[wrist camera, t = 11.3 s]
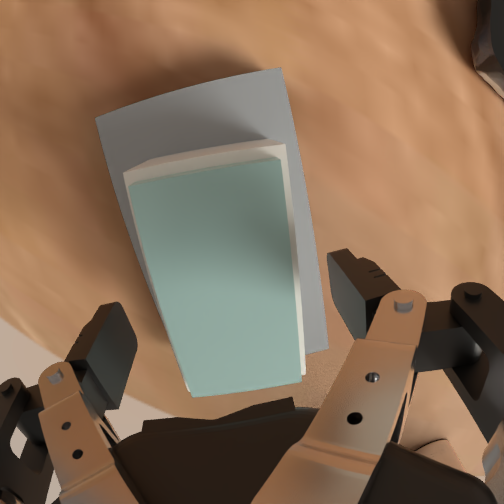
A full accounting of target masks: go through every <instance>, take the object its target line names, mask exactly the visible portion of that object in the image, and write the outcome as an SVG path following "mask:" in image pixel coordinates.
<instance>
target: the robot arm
mask: <svg viewBox="0 0 504 504" xmlns="http://www.w3.org/2000/svg"><path fill="white" fill-rule="evenodd" d="M327 263H328V271H329V278H330V286H331V293H332V298H333V301H334V304H335V306H336V308H337V310H338V312H339V313H340V315H341V317H342V319H343V320H344V322H345V324H346V326H347V327H348V329H349V331H350V333H351V334H352V336H353V338H354V340H355V342H354V344H353V346H352V348H351V350H350V352H349V354H348V356H347V358H346V360H345V362H344V364H343V366H342V368H341V370H340V372H339V374H338V376H337V378H336V380H335V382H334V383H333V385H332V387H331V389H330V391H329V393H328V395H327V396H326V398H325V400H324V402H323V404H322V405H321V407H320V409H317V408H308V407H295V406H294V402H293V398H292V397H289V398H284V399H280V400H276V401H271V402H266V403H262V404H257V405H253V406H250V407H248V408H245V409H243V410H240V411H237V412H235V413H232V414H229V415H227V416H224V417H221V418H219V419H215V420H206V419H192V418H180V417H174V418H165V419H156V420H144V422H143V427H142V432H139V433H136V434H133V435H131V436H129V437H127V438H125V439H124V440H122V441H121V440H120V438H119V436H118V435H117V433H116V431H115V430H114V428H113V426H112V425H111V423H110V421H109V420H108V418H107V417H106V416H105V414H104V413H105V410H114V409H119V406H120V403H121V400H122V396H123V393H124V389H125V386H126V383H127V380H128V376H129V373H130V370H131V367H132V364H133V361H134V357H135V354H136V351H137V338H136V335H135V333H134V331H133V328H132V326H131V324H130V322H129V320H128V318H127V316H126V313H125V311H124V309H123V307H122V305H121V304H120V303H119V302H113V303H109V304H104V305H100V306H99V308H98V310H97V311H96V313H95V315H94V316H93V318H92V320H91V321H90V322H89V323H88V324H86V325H85V326H84V327H83V329H82V331H81V333H80V334H79V337H78V338H77V339H76V341H75V344H74V345H73V346H72V348H71V350H70V352H69V354H68V355H67V357H66V359H65V361H64V362H58V363H55V364H53V365H51V366H49V367H48V368H47V369H45V370H44V371H43V373H42V374H41V375H40V377H39V380H38V384H37V385H34V386H31V387H28V388H26V387H25V385H24V384H23V382H22V381H21V380H20V379H19V378H11V379H8V380H7V381H5V382H3V383H2V384H1V385H0V504H45V501H46V498H47V493H48V489H49V485H50V482H51V478H52V474H53V470H55V473H56V475H57V478H58V481H59V484H60V486H61V492H60V494H59V497H58V498H57V499H56V500H55V501H54V502H53V503H52V504H504V301H503V300H502V299H501V298H500V297H499V296H497V295H496V294H495V293H494V292H493V291H492V290H491V289H489V288H488V287H487V286H485V285H483V284H479V283H475V282H466V283H461V284H459V285H457V286H455V287H454V288H453V290H452V292H451V300H447V301H439V302H427V301H426V299H425V297H424V296H423V295H422V294H420V293H418V292H416V291H412V290H401V289H400V288H399V287H398V286H397V285H396V284H395V283H394V282H393V281H392V280H391V278H390V277H389V276H388V275H386V273H385V272H384V271H383V270H382V269H380V267H379V266H378V265H377V264H376V263H375V262H373V261H371V260H368V259H366V258H359V259H357V258H356V257H355V256H354V255H353V254H352V253H351V252H350V251H349V250H348V249H347V248H346V249H342V250H338V251H334V252H330V253H327ZM440 369H443V371H444V372H445V374H446V375H447V377H448V378H449V380H450V381H451V383H452V384H453V386H454V388H455V389H456V391H457V392H458V394H459V396H460V397H461V399H462V400H463V402H464V404H465V405H466V407H467V409H468V410H469V412H470V414H471V415H472V417H473V419H474V420H475V422H476V424H477V425H478V427H479V429H480V431H481V432H482V434H483V436H484V438H485V439H486V441H487V443H488V445H487V447H486V448H485V450H484V453H483V457H482V463H483V467H484V471H485V483H484V482H483V481H481V480H480V479H478V478H477V477H475V476H473V475H471V474H469V473H467V472H466V470H465V469H464V467H463V465H462V463H461V461H460V459H459V458H458V456H457V454H456V453H455V451H454V449H453V447H452V446H451V444H450V442H449V441H448V440H439V441H436V442H433V443H430V444H428V445H426V446H424V447H422V448H420V449H418V450H417V451H413V450H410V449H408V448H406V447H404V446H402V445H399V443H400V440H401V437H402V433H403V430H404V426H405V422H406V418H407V415H408V412H409V408H410V405H411V401H412V398H413V394H414V390H415V387H416V383H417V379H418V375H419V372H424V371H432V370H440ZM16 426H17V427H18V429H19V430H20V431H21V432H22V433H23V434H24V435H25V436H26V437H27V441H26V444H25V446H24V449H23V452H22V454H21V457H20V459H19V458H18V457H17V456H16V455H15V454H14V453H13V452H12V450H11V447H10V439H11V437H12V435H13V432H14V430H15V428H16Z"/></svg>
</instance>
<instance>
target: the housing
mask: <svg viewBox="0 0 504 504" xmlns="http://www.w3.org/2000/svg"><path fill="white" fill-rule="evenodd" d="M123 176H124V181H125V185H126V190H127V194H128V199H129V203H130V207H131V211H132V216H133V220H134V224H135V228H136V232H137V235H138V239H139V243H140V247H141V250H142V254H143V258H144V261H145V265H146V268H147V272H148V275H149V279H150V282H151V285H152V289H153V292H154V295H155V298H156V302H157V305H158V308H159V311H160V314H161V317H162V320H163V323H164V326H165V329H166V332H167V335H168V338H169V341H170V344H171V347H172V349H173V352H174V355H175V358H176V361H177V363H178V366H179V369H180V371H181V374H182V377H183V379H184V382H185V384H186V387H187V390H188V392H190V393H191V395H192V398H194V397H204V396H213V395H222V394H230V393H237V392H245V391H252V390H258V389H264V388H270V387H276V386H282V385H288V384H293V383H298V382H302V379H301V375H305V374H306V364H305V347H304V331H303V317H302V303H301V290H300V278H299V266H298V255H297V244H296V234H295V223H294V214H293V204H292V195H291V186H290V177H289V169H288V160H287V152H286V144H284V143H281V142H277V141H274V140H271V139H262V140H254V141H247V142H240V143H234V144H227V145H221V146H215V147H209V148H204V149H198V150H193V151H187V152H182V153H177V154H172V155H167V156H162V157H158V158H153V159H150V160H148V161H146V162H143V163H141V164H139V165H137V166H135V167H133V168H131V169H129V170H127V171H125V172H123Z"/></svg>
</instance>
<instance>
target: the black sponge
mask: <svg viewBox="0 0 504 504" xmlns="http://www.w3.org/2000/svg"><path fill="white" fill-rule="evenodd" d="M477 19H478V23H477V28H476V31H475V36H474V39H473V41H472V43H471V51H472V58H473V63H474V67H475V70H476V72H477V73H478V74H479V75H481V76H482V77H483V79H484V80H485V81H486V82H488V83H489V84H490V85H491V86H492V87H493V89H494V90H495V91H496V92H497V93H498V94H499V95H500V96H501V97H503V99H504V0H478V3H477Z"/></svg>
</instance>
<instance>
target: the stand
mask: <svg viewBox="0 0 504 504" xmlns="http://www.w3.org/2000/svg"><path fill="white" fill-rule="evenodd" d="M95 121H96V125H97V129H98V133H99V137H100V141H101V144H102V148H103V152H104V156H105V159H106V163H107V166H108V170H109V173H110V177H111V180H112V184H113V187H114V190H115V194H116V197H117V200H118V203H119V206H120V209H121V212H122V216H123V219H124V222H125V225H126V228H127V230H128V233H129V236H130V239H131V242H132V245H133V248H134V250H135V253H136V256H137V259H138V261H139V264H140V267H141V269H142V272H143V275H144V277H145V280H146V283H147V285H148V288H149V290H150V293H151V295H152V298H153V300H154V303H155V305H156V307H157V310H158V312H159V315H160V317H161V314H160V311H159V308H158V305H157V302H156V298H155V295H154V292H153V289H152V285H151V282H150V279H149V275H148V272H147V268H146V265H145V261H144V258H143V254H142V250H141V247H140V243H139V239H138V235H137V232H136V228H135V224H134V220H133V216H132V211H131V207H130V203H129V199H128V194H127V190H126V185H125V181H124V176H123V172H125V171H127V170H129V169H131V168H133V167H135V166H137V165H139V164H141V163H143V162H146V161H148V160H150V159H153V158H158V157H162V156H167V155H172V154H177V153H182V152H187V151H193V150H198V149H204V148H209V147H215V146H221V145H227V144H234V143H240V142H247V141H254V140H262V139H271V140H274V141H277V142H281V143H284V144H286V152H287V160H288V169H289V177H290V186H291V195H292V204H293V214H294V223H295V234H296V244H297V255H298V266H299V278H300V290H301V303H302V317H303V331H304V347H305V355H307V354H311V353H314V352H318V351H322V350H326V349H329V345H328V336H327V327H326V318H325V310H324V302H323V294H322V286H321V279H320V271H319V264H318V257H317V251H316V244H315V237H314V231H313V225H312V219H311V213H310V207H309V201H308V195H307V189H306V184H305V178H304V173H303V167H302V162H301V157H300V152H299V147H298V142H297V137H296V132H295V127H294V122H293V117H292V113H291V108H290V103H289V99H288V94H287V90H286V86H285V81H284V77H283V73H282V69H281V67H280V68H274V69H268V70H262V71H257V72H251V73H246V74H241V75H236V76H231V77H227V78H222V79H218V80H213V81H209V82H205V83H201V84H197V85H193V86H190V87H186V88H182V89H179V90H175V91H172V92H168V93H165V94H162V95H158V96H155V97H152V98H149V99H146V100H143V101H140V102H137V103H134V104H131V105H128V106H125V107H122V108H120V109H117V110H114V111H111V112H109V113H106V114H104V115H101V116H98V117H96V118H95ZM161 319H162V317H161ZM162 322H163V320H162ZM163 324H164V323H163Z"/></svg>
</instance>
